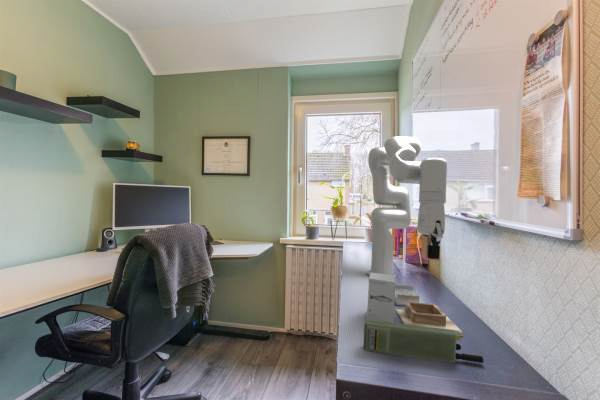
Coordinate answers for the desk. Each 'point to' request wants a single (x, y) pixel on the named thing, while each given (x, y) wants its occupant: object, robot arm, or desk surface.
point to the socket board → (425, 316)
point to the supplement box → (381, 297)
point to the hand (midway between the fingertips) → (430, 256)
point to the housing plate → (405, 294)
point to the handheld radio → (414, 341)
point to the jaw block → (426, 248)
